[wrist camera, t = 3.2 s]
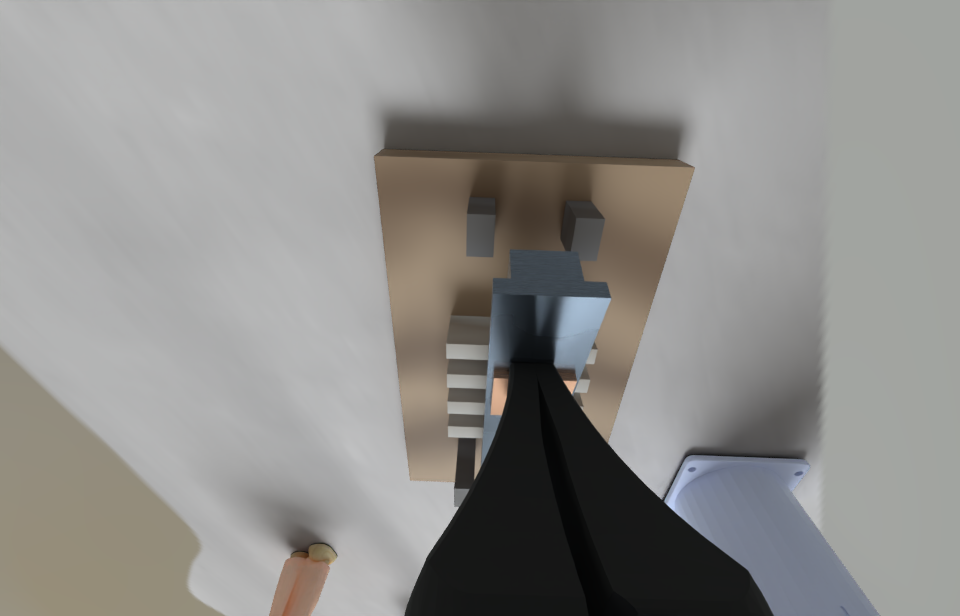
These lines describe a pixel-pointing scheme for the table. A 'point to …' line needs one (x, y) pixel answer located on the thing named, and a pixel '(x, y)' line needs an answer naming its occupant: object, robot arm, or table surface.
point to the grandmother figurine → (302, 581)
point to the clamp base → (485, 255)
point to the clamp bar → (540, 323)
